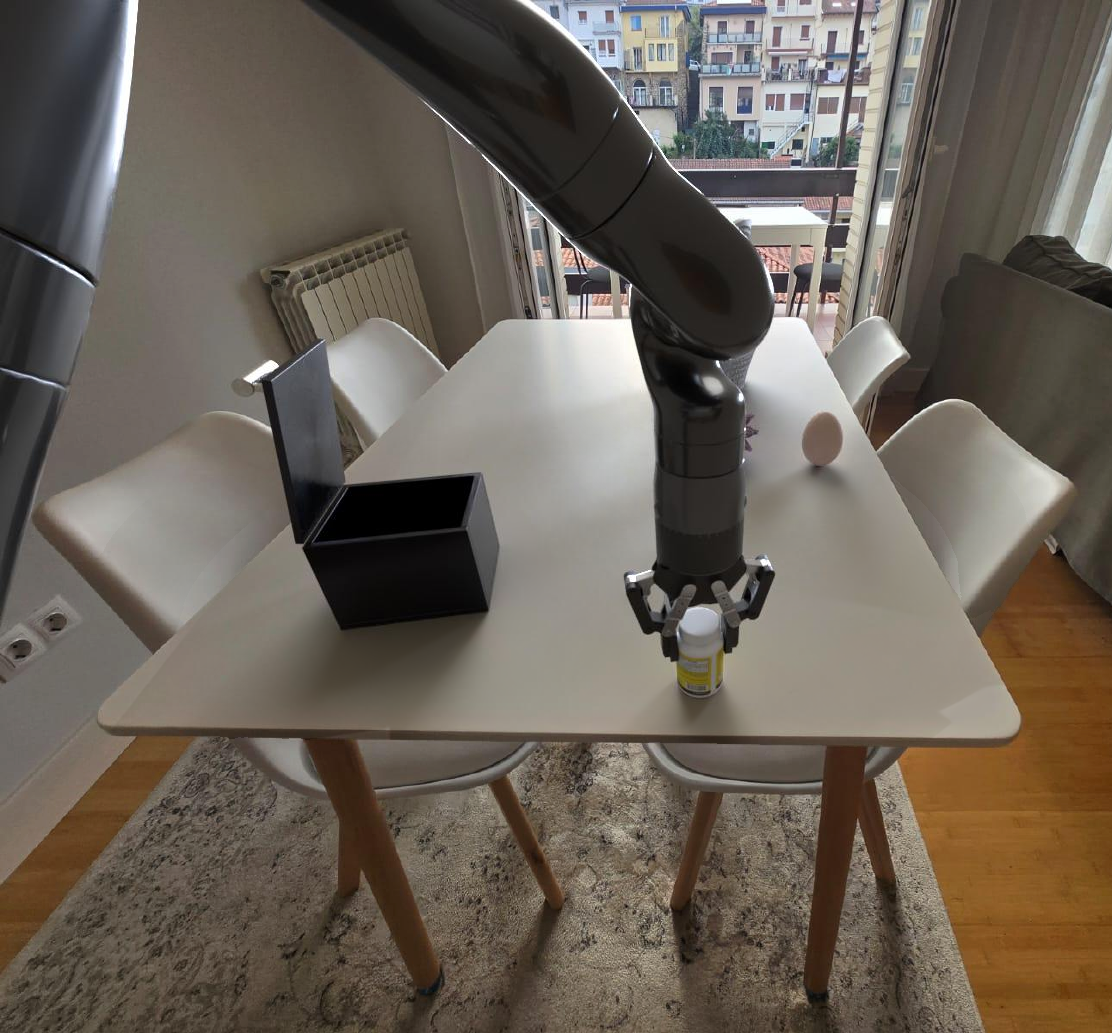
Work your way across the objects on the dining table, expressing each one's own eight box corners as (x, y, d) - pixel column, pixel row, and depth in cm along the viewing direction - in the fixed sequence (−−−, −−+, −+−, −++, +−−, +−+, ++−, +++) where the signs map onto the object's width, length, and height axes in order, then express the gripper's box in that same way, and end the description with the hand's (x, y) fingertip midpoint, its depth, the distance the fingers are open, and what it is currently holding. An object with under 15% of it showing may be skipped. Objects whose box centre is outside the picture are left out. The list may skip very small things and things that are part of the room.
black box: (499, 546, 79) (482, 471, 72) (489, 611, 68) (467, 530, 61) (373, 560, 76) (343, 484, 70) (340, 630, 65) (301, 547, 59)
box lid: (325, 339, 61) (271, 332, 60) (271, 381, 50) (202, 374, 48) (345, 481, 70) (299, 478, 68) (303, 544, 58) (246, 542, 57)
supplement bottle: (706, 657, 61) (706, 598, 56) (731, 686, 58) (734, 625, 53) (668, 675, 59) (665, 616, 54) (692, 707, 56) (692, 646, 51)
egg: (844, 472, 96) (853, 418, 90) (805, 475, 95) (812, 421, 90) (831, 454, 101) (838, 403, 96) (794, 456, 101) (800, 405, 95)
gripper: (768, 476, 51) (758, 616, 60) (609, 492, 49) (624, 634, 58) (797, 521, 45) (780, 669, 54) (616, 541, 43) (631, 692, 52)
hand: (699, 650), depth 56 cm, fingers closed on supplement bottle, 4 cm apart
